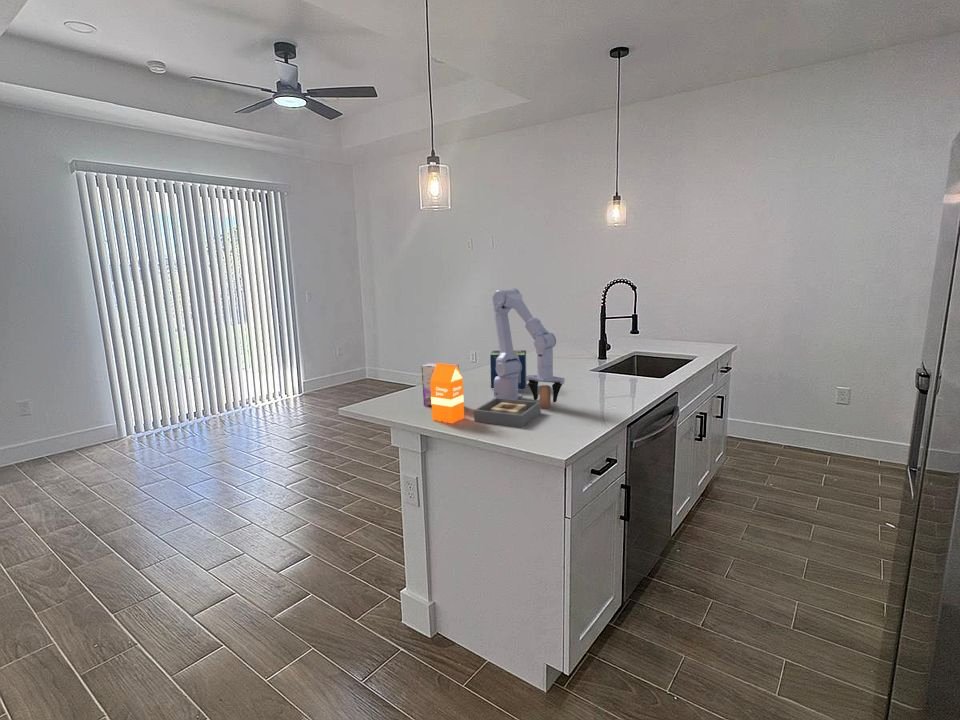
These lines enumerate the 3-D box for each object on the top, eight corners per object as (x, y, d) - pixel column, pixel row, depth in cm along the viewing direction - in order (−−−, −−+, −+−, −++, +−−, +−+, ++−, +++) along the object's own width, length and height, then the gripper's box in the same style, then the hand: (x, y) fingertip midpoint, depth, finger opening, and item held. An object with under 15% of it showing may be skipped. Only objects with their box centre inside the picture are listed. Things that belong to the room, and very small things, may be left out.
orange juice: (452, 423, 178) (449, 367, 175) (431, 420, 183) (429, 365, 179) (464, 417, 185) (462, 363, 181) (444, 414, 190) (442, 361, 186)
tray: (474, 421, 180) (473, 410, 180) (495, 407, 196) (495, 397, 195) (521, 427, 172) (521, 415, 172) (540, 412, 188) (540, 402, 187)
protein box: (493, 383, 235) (492, 350, 232) (526, 383, 233) (526, 350, 230) (490, 389, 225) (489, 354, 222) (525, 389, 223) (525, 354, 220)
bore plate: (490, 414, 185) (490, 409, 185) (502, 407, 194) (501, 402, 193) (516, 417, 181) (516, 411, 180) (526, 409, 189) (526, 404, 189)
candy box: (461, 405, 201) (459, 364, 198) (454, 409, 196) (452, 367, 193) (430, 402, 207) (428, 362, 204) (423, 406, 201) (420, 364, 198)
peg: (538, 407, 195) (538, 387, 193) (542, 404, 198) (542, 384, 197) (548, 408, 193) (548, 388, 191) (552, 405, 196) (551, 385, 195)
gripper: (523, 366, 192) (523, 401, 195) (560, 369, 186) (560, 405, 188) (530, 362, 198) (530, 396, 201) (566, 365, 192) (566, 400, 194)
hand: (545, 400), depth 195 cm, fingers open, 7 cm apart
